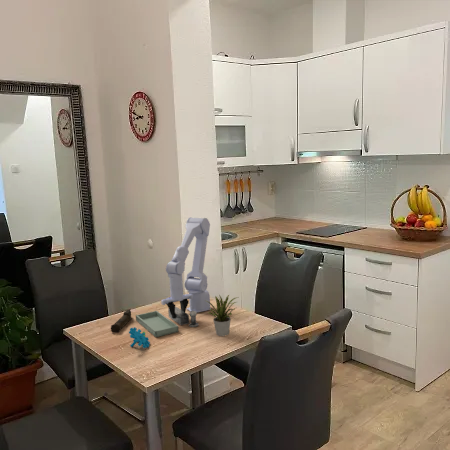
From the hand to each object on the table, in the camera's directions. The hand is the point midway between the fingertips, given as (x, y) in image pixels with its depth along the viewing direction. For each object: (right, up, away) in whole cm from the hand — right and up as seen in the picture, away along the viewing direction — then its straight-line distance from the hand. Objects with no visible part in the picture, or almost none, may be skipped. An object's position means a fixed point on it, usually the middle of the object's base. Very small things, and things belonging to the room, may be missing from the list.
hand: (178, 316), depth 205 cm
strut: (0, -1, 0) cm, 1 cm away
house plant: (+21, -3, -19) cm, 29 cm away
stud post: (+7, -2, -8) cm, 11 cm away
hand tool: (-25, -3, -2) cm, 25 cm away
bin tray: (-9, -3, -6) cm, 11 cm away
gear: (-12, -6, -27) cm, 30 cm away
